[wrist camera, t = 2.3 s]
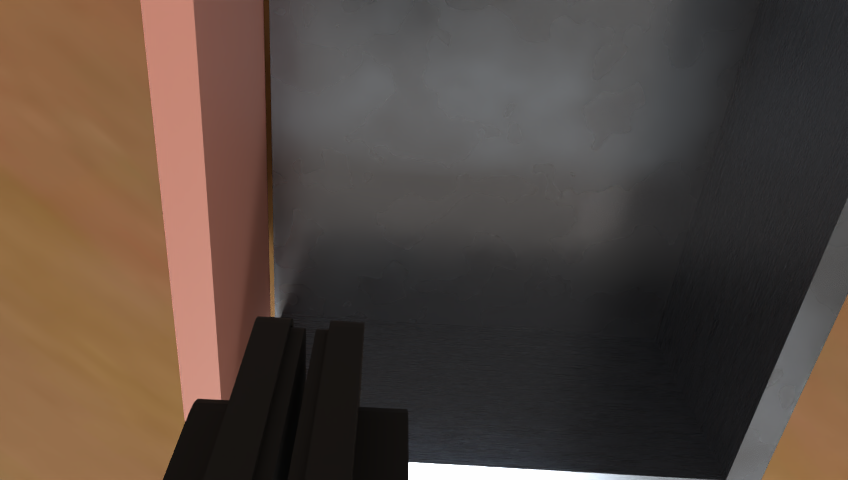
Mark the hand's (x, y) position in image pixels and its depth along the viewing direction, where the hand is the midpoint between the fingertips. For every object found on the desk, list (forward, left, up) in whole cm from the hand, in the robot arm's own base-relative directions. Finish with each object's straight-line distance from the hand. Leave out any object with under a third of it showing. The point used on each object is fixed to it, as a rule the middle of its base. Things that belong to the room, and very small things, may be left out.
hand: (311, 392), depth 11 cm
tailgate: (+4, 0, -16) cm, 16 cm away
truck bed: (-5, 0, -19) cm, 20 cm away
